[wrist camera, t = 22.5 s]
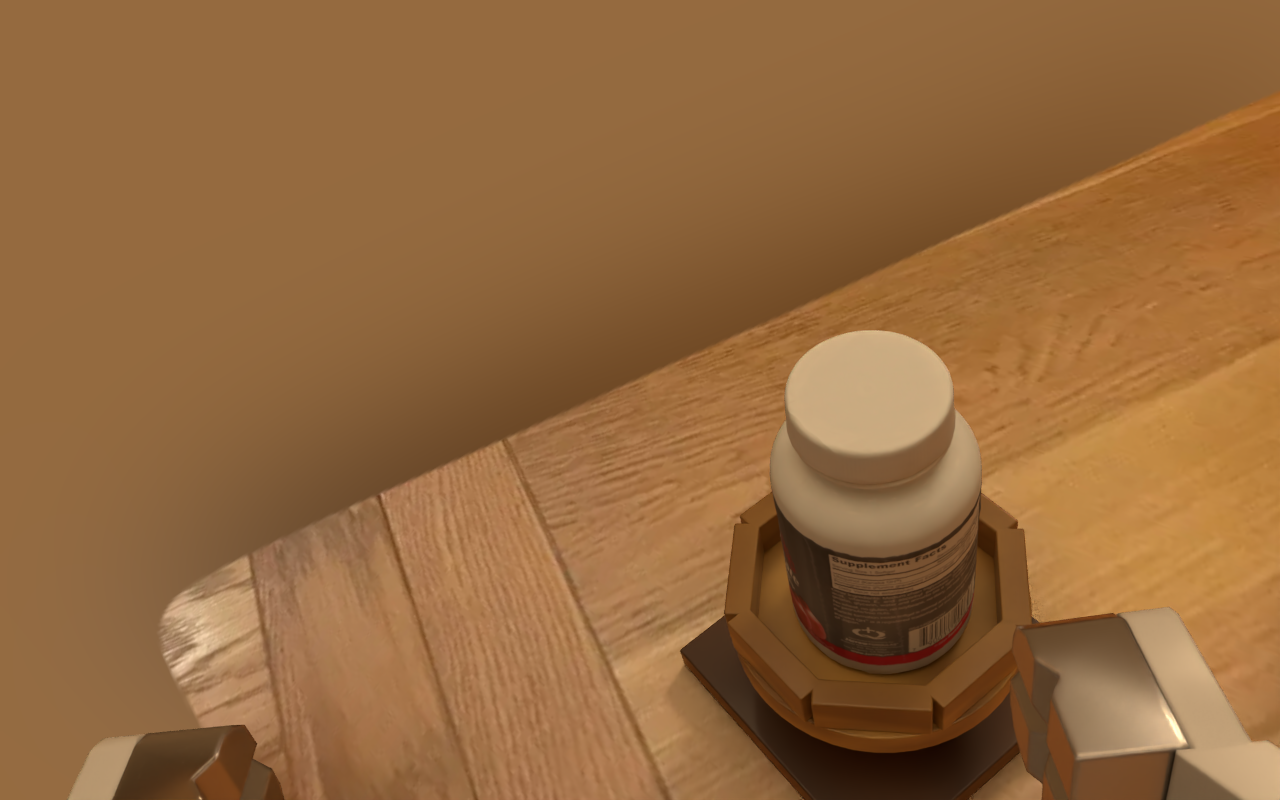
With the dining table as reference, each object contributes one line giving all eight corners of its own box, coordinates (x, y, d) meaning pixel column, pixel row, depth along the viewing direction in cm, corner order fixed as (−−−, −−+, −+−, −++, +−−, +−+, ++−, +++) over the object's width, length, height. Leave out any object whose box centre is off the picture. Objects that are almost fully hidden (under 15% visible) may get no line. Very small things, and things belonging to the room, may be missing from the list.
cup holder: (877, 882, 33) (868, 799, 28) (683, 663, 39) (649, 564, 34) (1095, 684, 35) (1122, 578, 30) (882, 508, 41) (877, 396, 36)
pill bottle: (781, 538, 35) (744, 327, 28) (949, 513, 35) (956, 290, 27) (806, 692, 32) (771, 495, 24) (994, 667, 31) (1016, 458, 24)
